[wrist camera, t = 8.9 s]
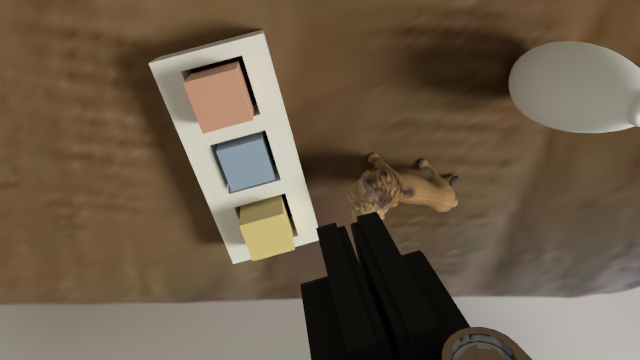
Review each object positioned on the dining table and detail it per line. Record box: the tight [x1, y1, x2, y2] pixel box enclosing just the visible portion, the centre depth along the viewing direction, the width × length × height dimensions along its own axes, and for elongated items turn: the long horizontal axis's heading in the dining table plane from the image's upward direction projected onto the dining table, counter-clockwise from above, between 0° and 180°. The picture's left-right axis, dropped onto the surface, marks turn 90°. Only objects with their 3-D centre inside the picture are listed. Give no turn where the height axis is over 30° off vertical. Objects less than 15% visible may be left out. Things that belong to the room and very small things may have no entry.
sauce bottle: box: [508, 41, 640, 133], centre depth 34 cm, size 8×8×18 cm
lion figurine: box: [348, 153, 459, 222], centre depth 41 cm, size 15×5×9 cm, turn 85°
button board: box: [148, 29, 319, 264], centre depth 39 cm, size 22×10×4 cm, turn 13°
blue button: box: [216, 131, 275, 192], centre depth 39 cm, size 4×4×4 cm
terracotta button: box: [183, 61, 254, 134], centre depth 34 cm, size 4×4×4 cm
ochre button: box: [239, 195, 295, 261], centre depth 40 cm, size 4×4×4 cm
